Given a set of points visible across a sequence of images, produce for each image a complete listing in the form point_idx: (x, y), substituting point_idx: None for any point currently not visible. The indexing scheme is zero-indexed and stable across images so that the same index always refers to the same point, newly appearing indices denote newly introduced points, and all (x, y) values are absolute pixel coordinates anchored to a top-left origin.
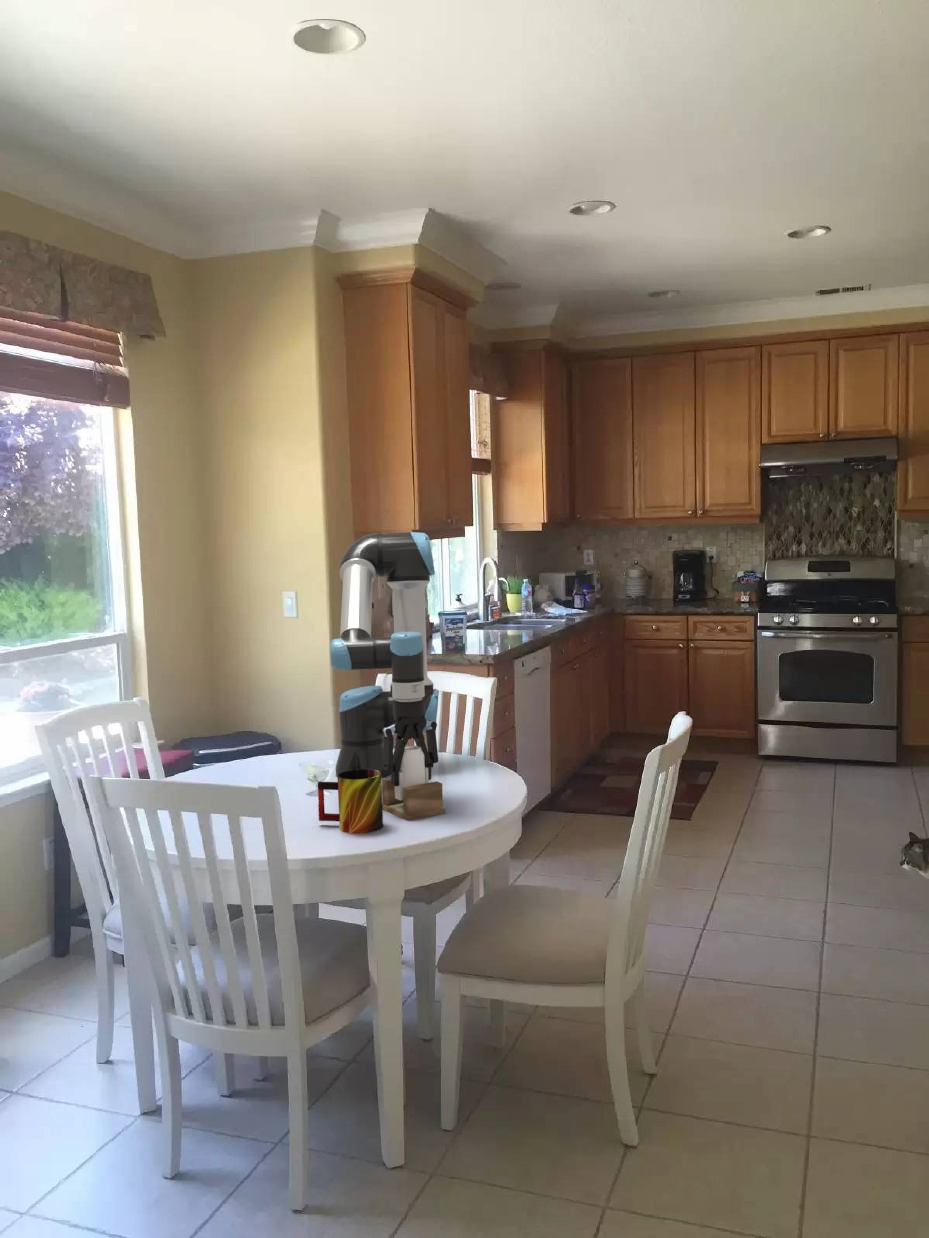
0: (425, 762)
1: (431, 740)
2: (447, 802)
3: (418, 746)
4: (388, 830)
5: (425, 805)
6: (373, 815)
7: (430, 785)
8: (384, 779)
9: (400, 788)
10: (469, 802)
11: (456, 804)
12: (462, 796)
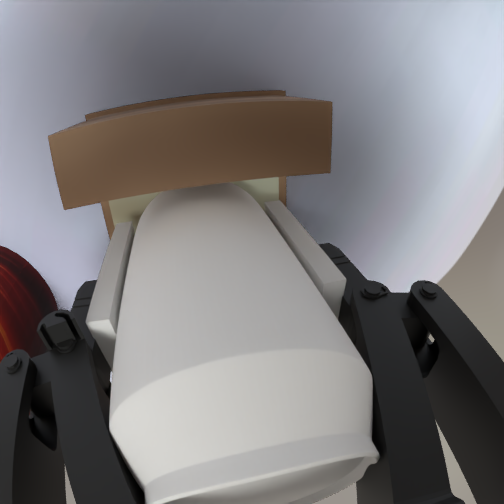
0: (355, 335)
1: (463, 463)
2: (356, 179)
3: (373, 462)
4: None
5: None
6: None
7: None
8: (61, 153)
9: None
10: (397, 220)
11: (361, 218)
12: (423, 147)
